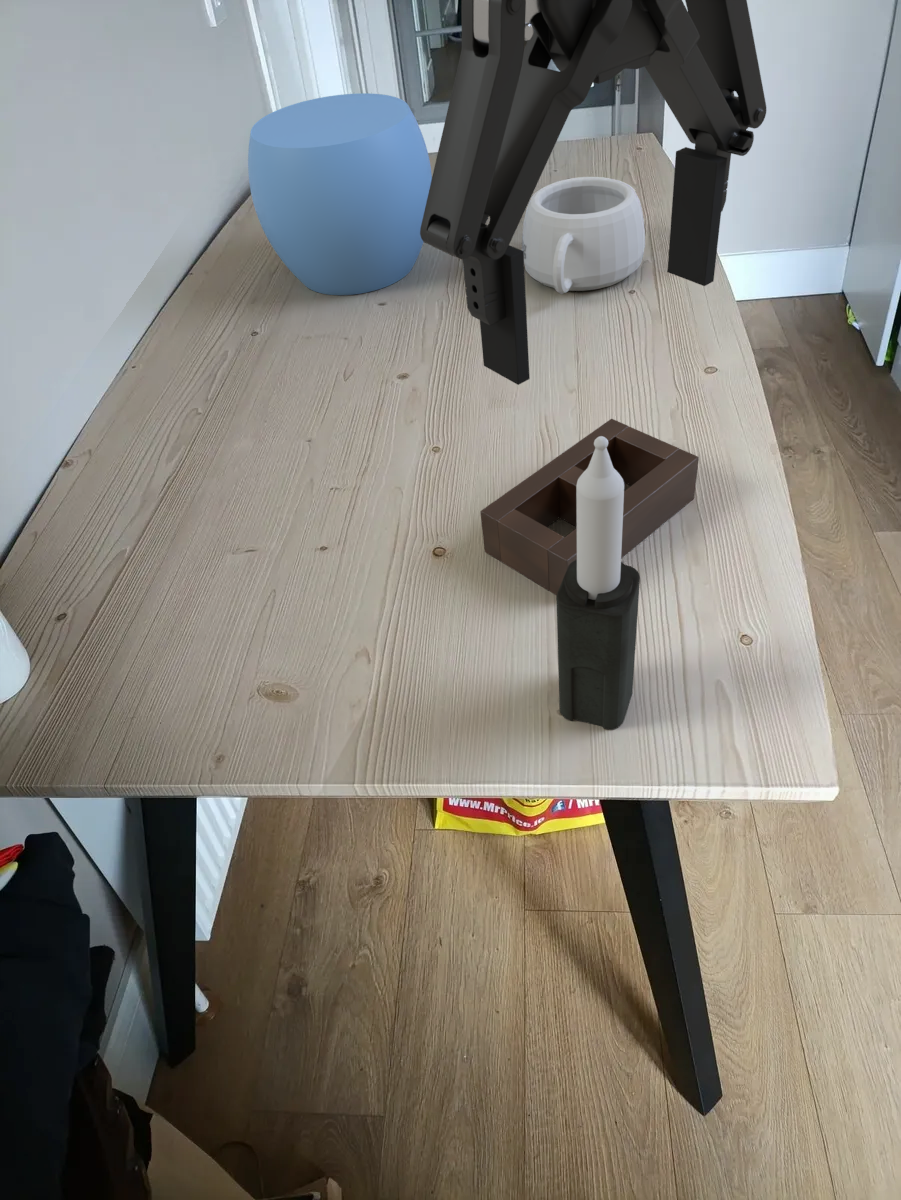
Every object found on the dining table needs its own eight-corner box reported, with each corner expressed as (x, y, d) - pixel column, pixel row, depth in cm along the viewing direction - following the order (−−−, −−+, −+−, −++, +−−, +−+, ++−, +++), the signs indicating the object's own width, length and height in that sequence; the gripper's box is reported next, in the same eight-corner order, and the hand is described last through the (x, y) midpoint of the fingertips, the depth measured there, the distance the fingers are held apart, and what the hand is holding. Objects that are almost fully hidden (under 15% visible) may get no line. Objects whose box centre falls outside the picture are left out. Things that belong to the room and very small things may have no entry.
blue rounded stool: (429, 304, 120) (408, 145, 105) (255, 312, 124) (211, 160, 109) (450, 227, 137) (434, 82, 123) (296, 237, 141) (264, 97, 127)
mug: (541, 240, 130) (539, 169, 123) (655, 245, 125) (659, 172, 118) (496, 309, 117) (490, 234, 110) (621, 319, 111) (624, 241, 104)
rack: (694, 498, 85) (699, 456, 82) (567, 602, 77) (566, 561, 74) (610, 459, 91) (611, 418, 88) (484, 551, 83) (480, 511, 80)
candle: (635, 683, 70) (653, 418, 53) (620, 732, 67) (634, 469, 49) (573, 669, 72) (571, 408, 54) (555, 717, 69) (547, 456, 51)
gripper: (753, -254, 39) (706, 225, 54) (268, -157, 30) (373, 390, 45) (910, -268, 34) (810, 260, 49) (395, -158, 25) (464, 450, 40)
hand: (603, 322), depth 47 cm, fingers open, 13 cm apart
